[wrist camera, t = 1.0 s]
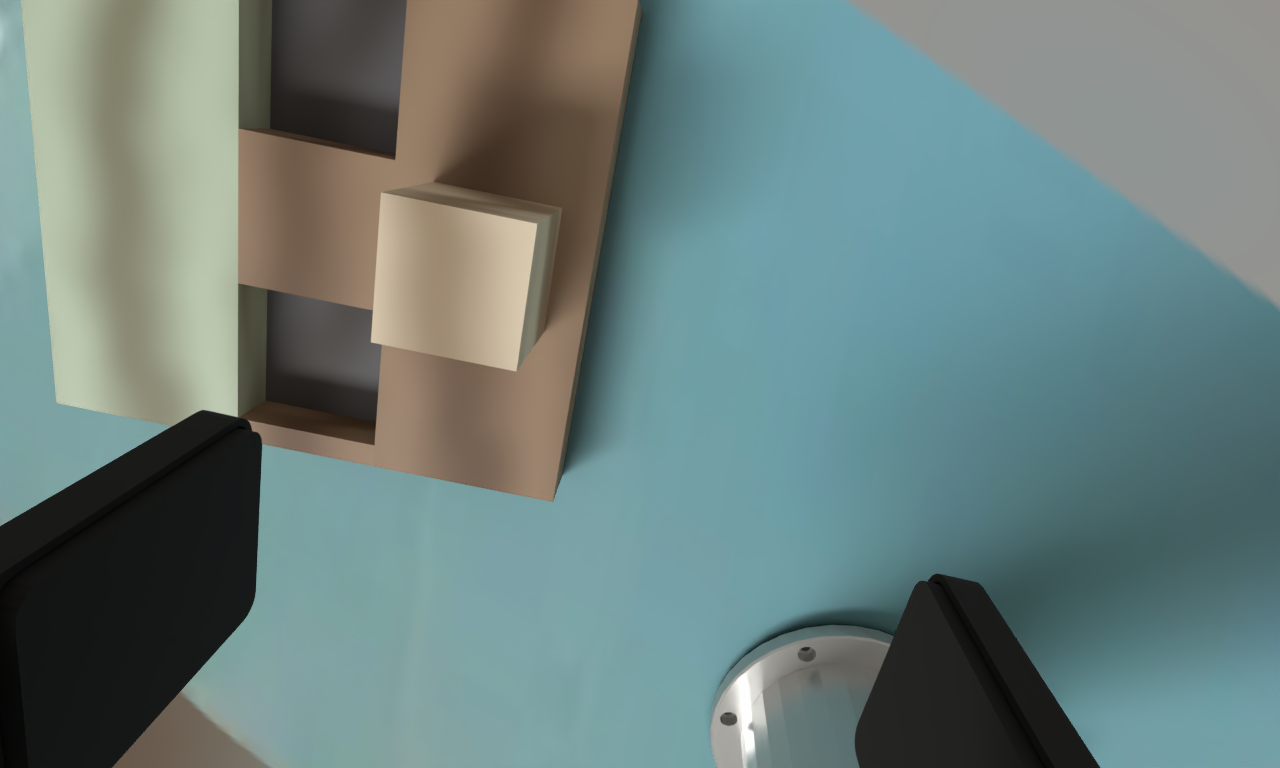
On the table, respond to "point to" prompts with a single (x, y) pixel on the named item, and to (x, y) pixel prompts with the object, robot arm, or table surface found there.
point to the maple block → (463, 273)
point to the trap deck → (315, 211)
